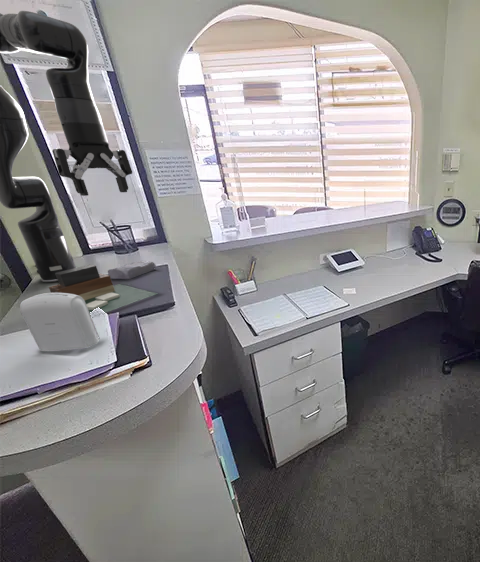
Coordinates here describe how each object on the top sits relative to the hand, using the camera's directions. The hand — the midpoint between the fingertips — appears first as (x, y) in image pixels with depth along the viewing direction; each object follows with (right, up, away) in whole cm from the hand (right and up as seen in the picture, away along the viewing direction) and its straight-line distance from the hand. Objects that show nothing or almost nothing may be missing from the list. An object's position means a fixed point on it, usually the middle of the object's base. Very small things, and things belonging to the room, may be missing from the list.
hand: (105, 193), depth 78 cm
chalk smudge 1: (-7, -29, +5) cm, 30 cm away
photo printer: (+4, -37, -13) cm, 39 cm away
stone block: (-17, -20, +31) cm, 40 cm away
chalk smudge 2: (-8, -27, +10) cm, 30 cm away
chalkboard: (-8, -28, +8) cm, 31 cm away
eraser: (-15, -27, +11) cm, 33 cm away
